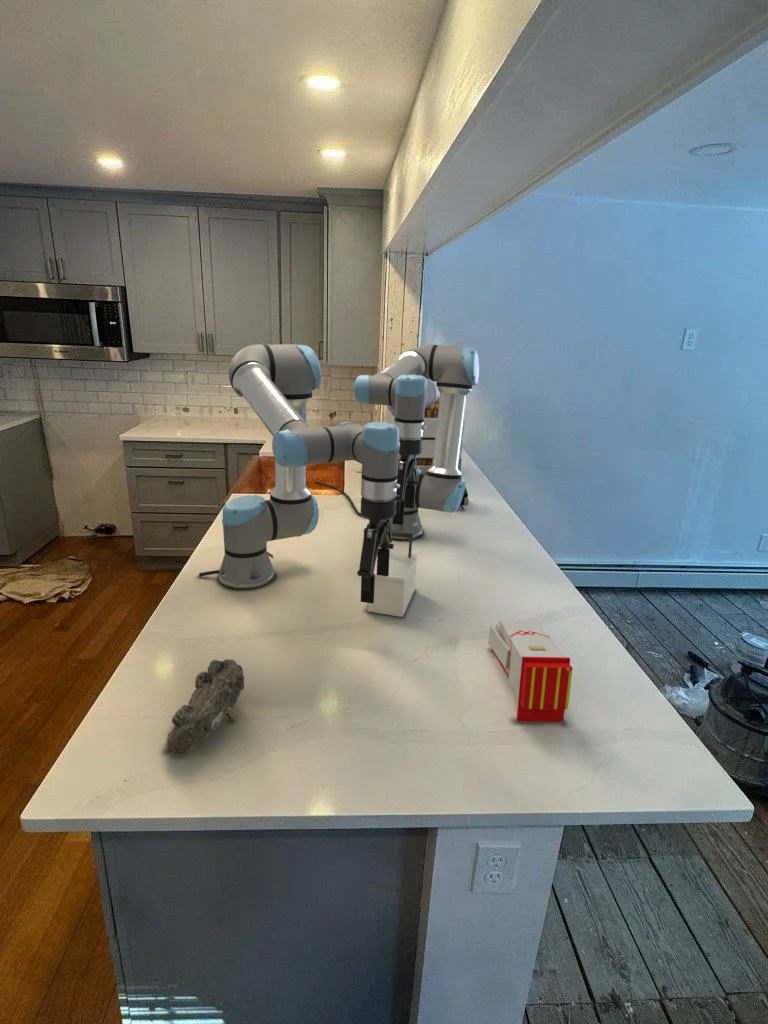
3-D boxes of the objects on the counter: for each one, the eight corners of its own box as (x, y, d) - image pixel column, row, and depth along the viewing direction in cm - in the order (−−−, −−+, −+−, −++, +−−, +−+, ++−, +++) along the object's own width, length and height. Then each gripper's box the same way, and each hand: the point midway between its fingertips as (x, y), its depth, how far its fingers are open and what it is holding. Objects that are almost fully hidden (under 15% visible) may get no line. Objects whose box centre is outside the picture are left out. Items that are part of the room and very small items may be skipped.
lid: (383, 553, 159) (385, 526, 157) (416, 558, 157) (418, 531, 154) (368, 577, 145) (369, 548, 142) (404, 583, 143) (406, 553, 140)
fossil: (192, 660, 117) (244, 628, 112) (224, 691, 120) (276, 661, 115) (142, 746, 98) (202, 712, 93) (182, 779, 101) (242, 748, 96)
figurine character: (468, 514, 225) (463, 498, 239) (470, 497, 222) (465, 482, 235) (451, 514, 225) (447, 498, 238) (453, 497, 222) (449, 481, 235)
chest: (381, 585, 162) (383, 554, 159) (414, 590, 160) (416, 559, 157) (367, 611, 148) (368, 577, 145) (402, 617, 146) (404, 583, 143)
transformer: (382, 463, 289) (386, 382, 275) (445, 464, 293) (451, 384, 279) (390, 482, 257) (394, 392, 243) (460, 483, 261) (468, 394, 247)
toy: (535, 605, 135) (581, 664, 106) (530, 657, 138) (574, 728, 108) (484, 604, 135) (517, 662, 105) (480, 656, 137) (511, 727, 108)
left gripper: (381, 518, 107) (377, 617, 114) (408, 483, 130) (403, 567, 137) (343, 514, 108) (342, 612, 116) (376, 479, 131) (373, 563, 138)
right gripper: (412, 449, 132) (407, 533, 140) (431, 429, 155) (425, 503, 162) (381, 446, 134) (378, 529, 141) (404, 427, 157) (400, 499, 164)
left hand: (375, 588), depth 126 cm, fingers open, 13 cm apart
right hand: (403, 515), depth 152 cm, fingers open, 13 cm apart
